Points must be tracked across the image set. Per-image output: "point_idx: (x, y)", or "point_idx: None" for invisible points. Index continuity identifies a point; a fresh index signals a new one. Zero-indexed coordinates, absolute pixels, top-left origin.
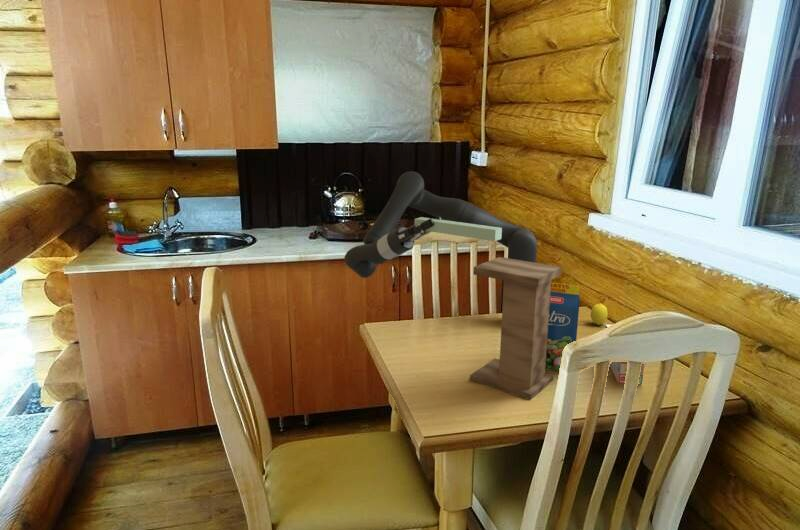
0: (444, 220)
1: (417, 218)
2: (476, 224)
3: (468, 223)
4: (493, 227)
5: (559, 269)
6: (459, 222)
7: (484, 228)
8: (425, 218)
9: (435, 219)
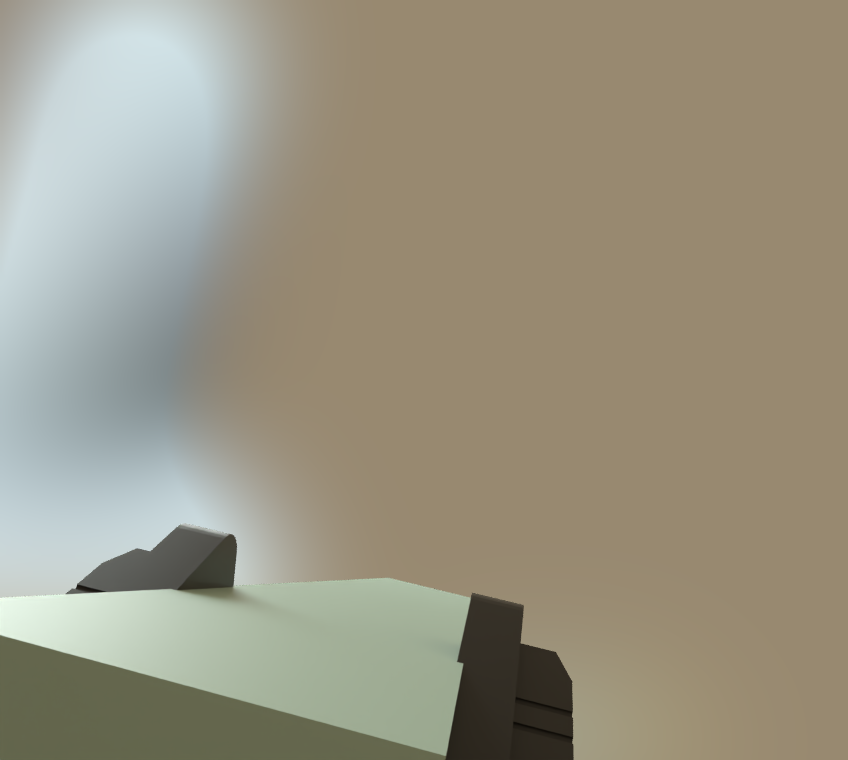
0: (283, 590)
1: (294, 701)
2: (360, 580)
3: (348, 581)
4: (408, 584)
5: None
6: (340, 585)
7: None
8: (189, 625)
9: (246, 600)
